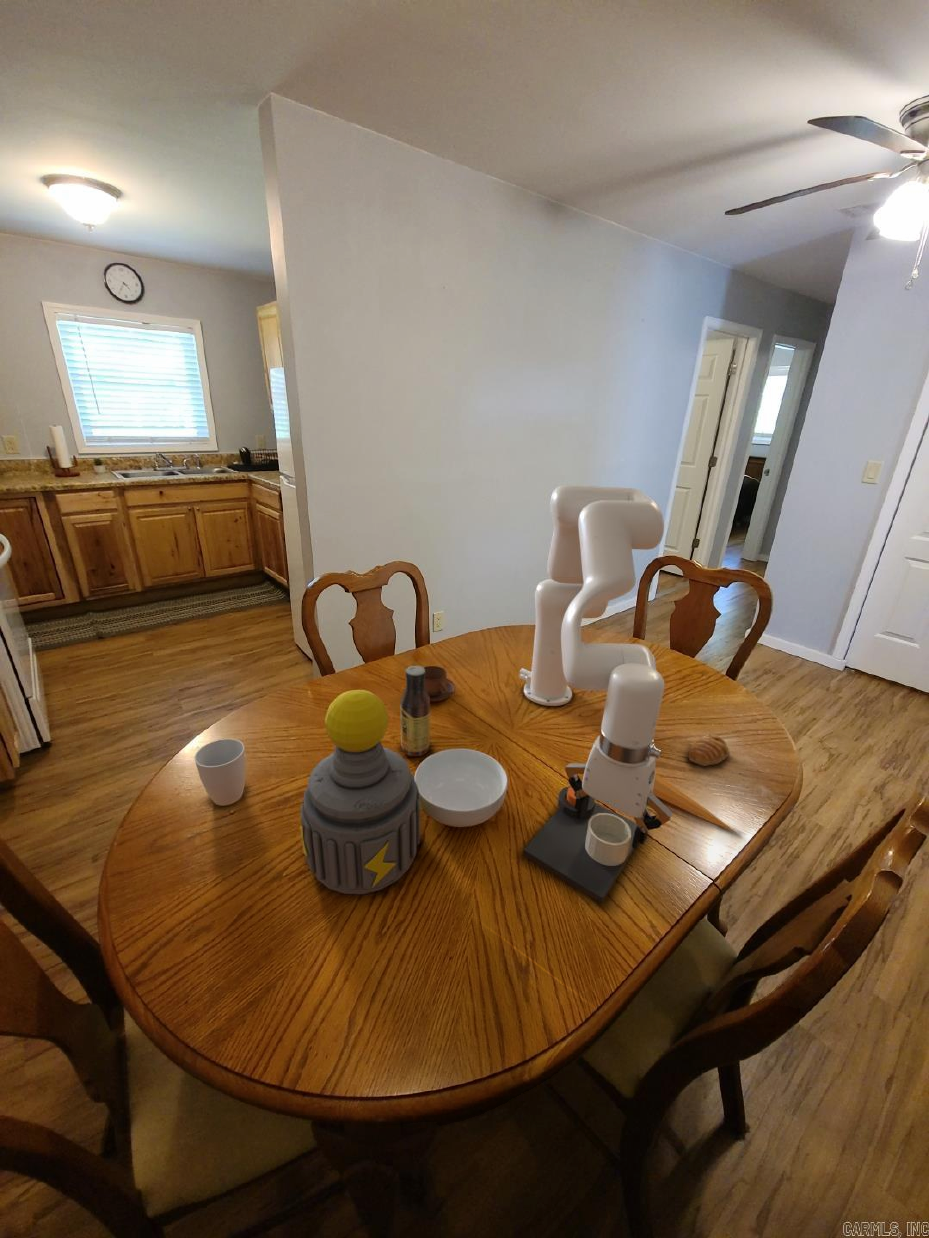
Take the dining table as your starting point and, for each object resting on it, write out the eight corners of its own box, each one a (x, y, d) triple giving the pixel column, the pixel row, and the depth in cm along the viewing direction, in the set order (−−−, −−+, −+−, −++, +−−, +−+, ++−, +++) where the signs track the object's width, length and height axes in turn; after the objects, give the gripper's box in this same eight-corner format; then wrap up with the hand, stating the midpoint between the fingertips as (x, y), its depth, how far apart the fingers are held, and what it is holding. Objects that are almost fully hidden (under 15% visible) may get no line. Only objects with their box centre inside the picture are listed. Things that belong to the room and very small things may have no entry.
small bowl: (577, 850, 83) (581, 830, 81) (595, 826, 88) (598, 806, 86) (617, 873, 79) (621, 852, 77) (633, 846, 84) (637, 826, 82)
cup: (260, 787, 96) (253, 744, 92) (229, 816, 89) (220, 771, 85) (226, 777, 98) (218, 734, 95) (193, 804, 91) (183, 760, 88)
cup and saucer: (463, 690, 132) (464, 670, 130) (437, 711, 123) (437, 689, 120) (427, 677, 138) (427, 657, 136) (399, 696, 129) (399, 675, 126)
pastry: (709, 773, 104) (713, 758, 103) (679, 757, 109) (682, 742, 108) (730, 756, 110) (734, 742, 108) (700, 742, 114) (704, 727, 113)
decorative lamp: (398, 796, 95) (395, 655, 84) (439, 872, 80) (442, 711, 68) (295, 828, 87) (276, 677, 75) (319, 920, 71) (300, 747, 60)
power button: (563, 800, 92) (564, 793, 91) (572, 790, 94) (573, 782, 94) (580, 809, 90) (582, 802, 89) (589, 799, 92) (590, 791, 92)
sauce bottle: (401, 741, 111) (400, 661, 104) (429, 740, 112) (430, 661, 104) (400, 759, 105) (398, 676, 97) (430, 759, 106) (431, 676, 98)
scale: (516, 851, 84) (517, 838, 83) (567, 793, 97) (568, 781, 96) (601, 904, 75) (604, 890, 74) (644, 832, 89) (647, 819, 88)
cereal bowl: (437, 855, 83) (437, 822, 80) (401, 792, 96) (400, 762, 93) (522, 822, 90) (525, 791, 87) (478, 767, 104) (479, 739, 101)
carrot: (627, 786, 101) (628, 774, 98) (638, 770, 103) (639, 758, 100) (730, 848, 89) (735, 837, 86) (740, 829, 91) (745, 817, 88)
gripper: (691, 754, 73) (668, 841, 80) (583, 711, 83) (571, 791, 90) (675, 781, 68) (652, 872, 75) (561, 731, 78) (550, 815, 84)
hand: (608, 828), depth 82 cm, fingers open, 9 cm apart
